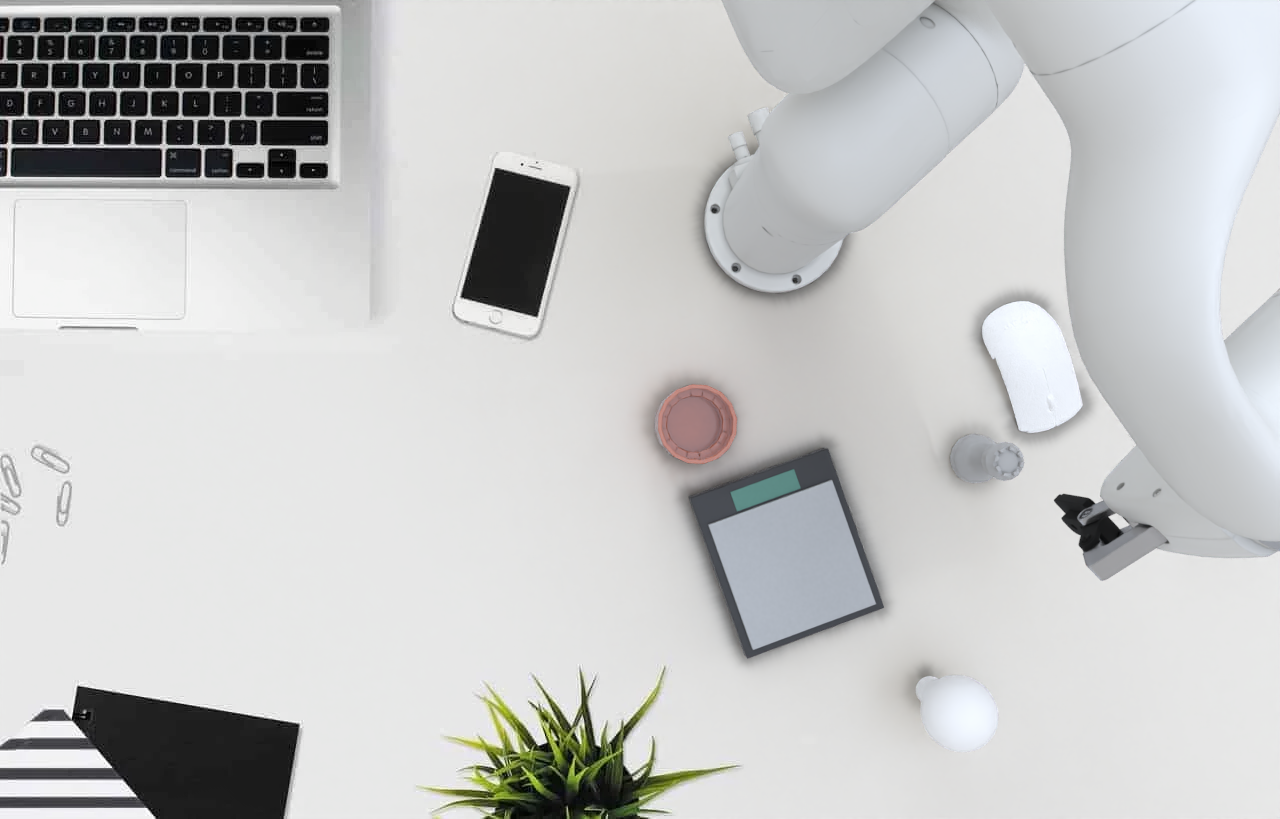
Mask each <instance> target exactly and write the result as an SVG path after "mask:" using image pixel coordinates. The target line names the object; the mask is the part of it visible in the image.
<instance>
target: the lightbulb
mask: <svg viewBox="0 0 1280 819" xmlns="http://www.w3.org/2000/svg"><path fill="white" fill-rule="evenodd" d="M915 695H916V697H917V699H918V700H919V701H920V718H921V722H922V725H923V727H924V730H925V731H926V733H927V734H928V736H929V737H930V738H931V739H932V741H934V742H935V743H936V744H937V745H939V746H940V747H942V748H944V749H946V750H948V751H950V752H955V753H970V752H975V751H978V750H981V749H982V748H983V747H985V746H986V745H987V744H988V743H989V742H990V741H991V740H992V739H993V737H994V736H995V734H996V731H997V729H998V725H999V709H998V704H997V702H996V700H995V698H994V696H993V695H992V693H991V691H990V690H989V689H988V688H987V687H986V685H984V684H983V683H982V682H980V681H978V680H977V679H975V678H973V677H971V676H968V675H964V674H949V675H944V676H942V677H940V678H938V677H936V676H932V675H927V676H924V677H922V678H920V679H919V680H918V681H917V684H916V685H915Z"/></svg>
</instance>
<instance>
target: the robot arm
mask: <svg viewBox="0 0 1280 819" xmlns="http://www.w3.org/2000/svg"><path fill="white" fill-rule="evenodd" d="M721 3H722V5H723V7H724V10H725V12H726V15H727V17H728V19H729V22H730V24H731V26H732V29H733V31H734V33H735V36H736V38H737V40H738V42H739V44H740V46H741V48H742V51H744V53H745V55H746V57H747V59H748V61H749V62H750V64H751V65H752V67H753V69H755V71H756V72H757V73H758V74H759V76H760V77H761V78H762V79H763V80H764V81H765V82H766V83H768V84H769V85H770V86H772V87H773V88H775V89H777V90H779V91H781V92H783V93H786V95H785V96H784V97H783V98H782V99H781V100H780V101H779V102H777V104H776V106H775V107H774V108H773V109H772V110H771V111H770V110H769V108H768V107H767V106H766V107H761V108H758V109H755V110H753V111H751V112H750V113H748V114H747V116H746V117H747V120H748V122H749V125H750V128H751V130H752V133H753V135H754V137H755V139H756V142H757V144H758V146H757V148H756V151H755V152H754V153H752V154H750V151H749V148H748V143H747V139H746V137H745V135H744V132H743V130H738V131H736V132H733V133H731V134H729V135H728V136H727V138H728V141H729V144H730V146H731V150H732V152H733V154H734V156H735V160H736V161H735V162H734V163H733V164H732V165H730V166H729V167H728V168H727V169H726V170H725V171H724V172H723V173H722V175H721V176H720V177H718V179H717V180H716V182H715V184H714V185H713V188H712V189H711V191H710V193H709V196H708V198H707V202H706V205H705V210H704V217H703V218H704V219H703V220H704V222H703V223H704V224H703V227H704V234H705V240H706V243H707V246H708V247H709V252H710V254H711V255H712V257H713V258H714V260H715V262H716V263H717V265H718V266H719V267H720V269H722V271H723V272H724V273H725V275H726V276H728V277H730V278H731V279H732V280H734V281H735V282H736V283H737V284H740V285H742V286H744V287H746V288H748V289H750V290H754V291H757V292H760V293H770V294H778V293H779V294H780V293H788V292H792V291H796V290H800V289H801V288H803V287H806V286H808V285H809V284H811V283H813V282H814V281H815V280H817V279H818V278H820V277H821V276H822V275H823V274H824V273H825V272H826V271H828V270H829V269H830V267H831V265H832V264H833V263H834V261H835V260H836V259H837V257H838V255H839V253H840V251H841V248H842V246H843V243H844V239H845V238H846V237H848V235H850V234H852V233H857V232H860V231H862V230H865V229H866V228H869V226H871V225H872V224H874V223H875V222H876V221H877V220H878V219H881V217H882V216H883V215H884V214H886V213H887V212H888V211H889V210H890V209H891V208H893V206H895V205H896V204H897V203H898V202H899V201H900V200H901V199H902V198H904V196H905V195H907V193H909V192H910V191H911V190H912V189H913V188H914V187H915V186H917V184H919V183H920V182H921V181H922V180H923V179H924V178H925V177H926V176H927V175H928V174H930V172H932V171H933V170H934V169H935V168H936V167H937V166H938V165H939V164H940V163H941V162H942V161H943V160H945V158H946V157H947V156H948V155H949V154H950V153H951V152H952V151H953V150H954V149H956V147H958V146H959V145H960V144H961V143H962V142H963V141H964V140H965V139H966V138H967V137H969V135H971V134H972V133H973V132H974V131H976V129H977V128H978V127H980V126H981V124H983V123H984V122H985V121H986V120H987V119H988V118H989V117H990V116H991V115H993V113H994V112H995V111H996V110H997V109H998V108H999V107H1000V106H1002V104H1003V103H1004V102H1005V101H1006V100H1007V99H1008V98H1009V97H1010V95H1012V93H1013V92H1014V91H1015V89H1016V87H1017V86H1018V84H1019V82H1020V81H1021V77H1022V75H1023V73H1024V69H1025V66H1026V67H1027V69H1028V71H1029V72H1030V74H1031V75H1032V77H1033V78H1034V80H1035V81H1036V83H1037V84H1038V86H1039V87H1040V89H1041V90H1042V92H1043V93H1044V95H1045V96H1046V97H1047V99H1048V100H1049V102H1050V103H1051V105H1052V106H1053V108H1054V109H1055V111H1056V113H1057V114H1058V116H1059V118H1060V119H1061V121H1062V123H1063V126H1064V128H1065V130H1066V134H1067V136H1068V139H1069V144H1070V164H1069V165H1070V166H1069V173H1068V180H1067V188H1066V196H1065V207H1064V221H1063V224H1064V225H1063V253H1064V254H1063V256H1064V258H1063V259H1064V273H1065V285H1066V286H1065V287H1066V300H1067V306H1068V313H1069V314H1068V315H1069V319H1070V324H1071V328H1072V334H1073V339H1074V342H1075V344H1076V347H1077V350H1078V353H1079V357H1080V358H1081V361H1082V363H1083V365H1084V367H1085V370H1086V371H1087V374H1088V376H1089V378H1090V379H1091V381H1092V383H1093V384H1094V385H1095V388H1096V389H1097V390H1098V392H1099V394H1100V395H1101V397H1102V398H1103V399H1104V401H1105V402H1106V404H1107V405H1108V407H1109V408H1110V410H1111V411H1112V412H1113V415H1115V417H1116V418H1117V419H1118V421H1119V422H1120V424H1121V426H1122V427H1123V428H1124V429H1125V431H1126V432H1127V433H1128V435H1129V437H1130V438H1131V439H1132V441H1133V442H1134V444H1135V446H1134V447H1133V448H1132V449H1131V450H1130V451H1129V452H1128V453H1127V454H1126V455H1125V456H1124V457H1123V458H1122V459H1121V460H1120V461H1119V462H1118V464H1116V465H1115V467H1114V468H1113V469H1112V470H1110V472H1109V473H1108V475H1107V476H1106V477H1105V479H1104V480H1103V482H1102V485H1101V486H1100V492H1099V497H1100V498H1101V501H1098V502H1095V501H1094V500H1093V499H1091V498H1089V497H1085V496H1080V495H1075V494H1070V493H1069V494H1068V493H1061V494H1058V495H1056V497H1055V498H1054V499H1053V502H1054V503H1055V504H1056V505H1057V506H1058V508H1059V509H1060V510H1061V511H1062V512H1063V513H1064V514H1063V515H1062V517H1061V520H1062V522H1063V524H1065V525H1066V526H1067V527H1068V529H1069V530H1070V531H1072V532H1073V533H1074V534H1076V535H1078V536H1079V540H1078V547H1079V548H1080V549H1081V551H1082V552H1083V553H1082V556H1083V560H1084V564H1085V566H1086V567H1087V568H1088V569H1089V571H1091V572H1092V573H1093V575H1094V576H1096V578H1097V579H1099V580H1100V581H1101V582H1103V581H1107V580H1109V579H1110V578H1112V577H1113V576H1115V575H1117V574H1118V573H1120V572H1121V571H1123V570H1124V569H1126V568H1127V567H1129V566H1130V565H1132V564H1134V563H1135V562H1137V561H1138V560H1140V559H1141V558H1143V557H1145V556H1146V555H1148V554H1149V553H1151V552H1152V551H1154V550H1156V549H1157V550H1160V551H1164V552H1168V553H1174V554H1179V555H1185V556H1192V557H1201V558H1212V559H1254V558H1255V559H1256V558H1268V557H1270V556H1272V555H1274V554H1276V553H1278V552H1280V288H1278V289H1277V290H1276V291H1275V292H1274V293H1273V294H1272V295H1271V296H1270V297H1269V298H1268V299H1267V300H1266V301H1265V302H1263V304H1261V305H1260V306H1259V307H1258V308H1257V309H1256V310H1255V311H1254V312H1253V313H1252V314H1251V315H1250V316H1248V317H1247V318H1246V319H1245V320H1244V321H1243V322H1242V323H1240V325H1239V326H1238V327H1237V328H1236V329H1234V330H1233V332H1231V333H1230V334H1229V335H1228V336H1227V337H1226V338H1225V339H1224V335H1223V334H1224V333H1223V324H1222V317H1221V299H1222V279H1223V274H1224V266H1225V260H1226V255H1227V254H1226V253H1227V250H1228V246H1229V243H1230V239H1231V235H1232V232H1233V227H1234V225H1235V221H1236V219H1237V215H1238V212H1239V210H1240V207H1241V205H1242V201H1243V198H1244V196H1245V193H1246V191H1247V189H1248V187H1249V185H1250V183H1251V181H1252V179H1253V176H1254V173H1255V171H1256V169H1257V167H1258V164H1259V162H1260V159H1261V157H1262V155H1263V153H1264V150H1265V148H1266V146H1267V143H1268V142H1269V139H1270V137H1271V135H1272V133H1273V130H1274V128H1275V126H1276V123H1277V121H1278V120H1279V116H1280V0H721ZM713 209H714V210H716V212H713V211H712V210H713ZM733 267H735V268H736V271H734V270H733ZM793 279H796V282H794V281H793ZM1116 514H1117V515H1118V516H1120V517H1121V518H1122V519H1123V520H1124V521H1125V522H1126V523H1127V524H1128V525H1127V526H1124V527H1122V528H1119V526H1118V525H1117V524H1116V523H1115V522H1114V521H1113V519H1111V518H1110V517H1111V516H1113V515H1116Z"/></svg>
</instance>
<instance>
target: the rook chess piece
mask: <svg viewBox="0 0 1280 819" xmlns="http://www.w3.org/2000/svg"><path fill="white" fill-rule="evenodd" d="M949 459H950V466H951V468H952V470H953V472H954V474H955V476H957V478H959V479H960V480H962V481H964V482H966V483H971V484H980V483H987V482H988V481H990V480H991V479H993V478H994V479H996V480H999V481H1003V482H1007V481H1011V480H1013V479H1015V478H1016V477H1018V476H1019V475H1020V473H1021V472H1022V471H1023V469H1024V466H1025V464H1026V463H1025V460H1024V459H1025V458H1024V454H1023V452H1022V450H1021V449H1020V447H1018V446H1017V445H1016V444H1014V443H1013V442H1009V441H1001V442H996V441H995V440H993V439H992V438H990V437H989V436H987V435H982V434H978V433H970V434H965V435H964V436H962V437H961V438H959V439H958V440H957V441H956V442H955V444H953V446H952V449H951V451H950V456H949Z"/></svg>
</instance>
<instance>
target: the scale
mask: <svg viewBox="0 0 1280 819" xmlns="http://www.w3.org/2000/svg"><path fill="white" fill-rule="evenodd" d="M688 500H689V503H690V506H691V509H692V511H693V515H694V517H695V520H696V523H697V526H698V529H699V531H700V534H701V537H702V540H703V542H704V545H705V548H706V551H707V554H708V556H709V560H710V562H711V565H712V568H713V571H714V574H715V576H716V579H717V582H718V585H719V587H720V590H721V593H722V596H723V599H724V602H725V604H726V607H727V610H728V614H729V616H730V619H731V622H732V625H733V627H734V629H735V632H736V635H737V639H738V641H739V644H740V646H741V649H742V652H743V655H744V656H745V658H746V659H750V658H753V657H756V656H759V655H761V654H762V655H763V654H764V653H767V652H770V651H772V650H775V649H778V648H781V647H783V646H785V645H788V644H791V643H793V642H797V641H799V640H802V639H805V638H807V637H810V636H812V635H816V634H817V633H820V632H823V631H826V630H828V629H829V630H830V629H831V628H834V627H836V626H839V625H842V624H845V623H848V622H850V621H853V620H855V619H858V618H861V617H863V616H866V615H869V614H871V613H874V612H877V611H880V610H883V609H885V605H884V603H883V600H882V597H881V594H880V591H879V589H878V586H877V583H876V579H875V576H874V574H873V571H872V568H871V566H870V563H869V560H868V557H867V555H866V552H865V549H864V547H863V544H862V540H861V537H860V535H859V532H858V529H857V526H856V524H855V521H854V518H853V515H852V512H851V509H850V506H849V504H848V501H847V499H846V496H845V492H844V490H843V487H842V484H841V481H840V478H839V476H838V473H837V470H836V467H835V465H834V462H833V459H832V456H831V453H830V451H829V448H827V447H822V448H820V449H816V450H813V451H811V452H808V453H806V454H802V455H800V456H797V457H795V458H792V459H788V460H785V461H783V462H781V463H778V464H775V465H772V466H770V467H767V468H764V469H761V470H759V471H756V472H753V473H750V474H747V475H744V476H741V477H739V478H736V479H733V480H731V481H728V482H725V483H722V484H719V485H716V486H714V487H711V488H709V489H706V490H703V491H701V492H697V493H695V494H692V495H689V496H688Z"/></svg>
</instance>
